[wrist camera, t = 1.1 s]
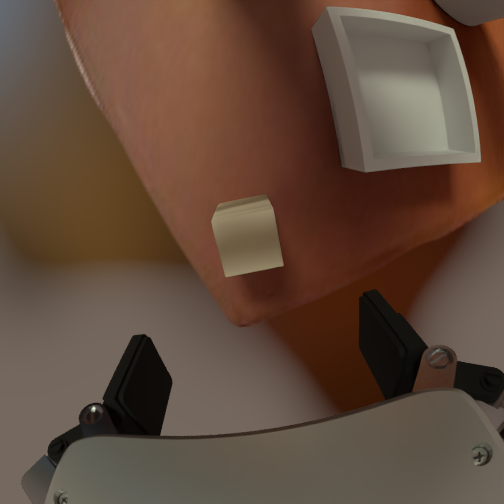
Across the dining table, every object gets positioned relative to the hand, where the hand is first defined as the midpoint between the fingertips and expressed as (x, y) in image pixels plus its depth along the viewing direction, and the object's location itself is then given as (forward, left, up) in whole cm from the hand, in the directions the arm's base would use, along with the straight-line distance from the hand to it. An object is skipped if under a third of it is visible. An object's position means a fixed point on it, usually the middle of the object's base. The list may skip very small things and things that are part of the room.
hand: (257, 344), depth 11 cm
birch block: (0, 0, -19) cm, 19 cm away
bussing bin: (-12, +19, -19) cm, 29 cm away
